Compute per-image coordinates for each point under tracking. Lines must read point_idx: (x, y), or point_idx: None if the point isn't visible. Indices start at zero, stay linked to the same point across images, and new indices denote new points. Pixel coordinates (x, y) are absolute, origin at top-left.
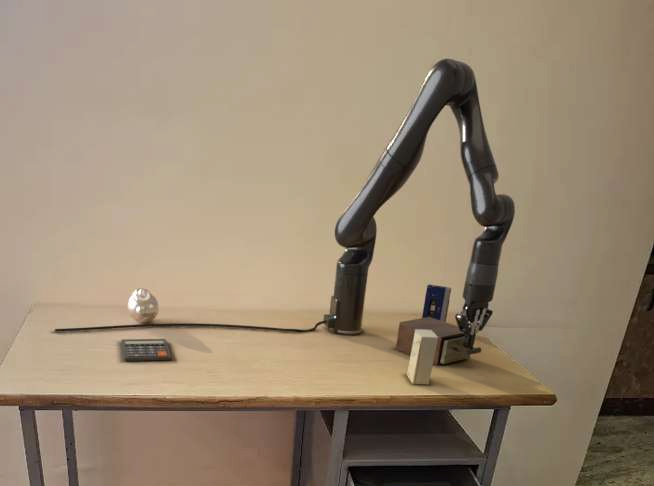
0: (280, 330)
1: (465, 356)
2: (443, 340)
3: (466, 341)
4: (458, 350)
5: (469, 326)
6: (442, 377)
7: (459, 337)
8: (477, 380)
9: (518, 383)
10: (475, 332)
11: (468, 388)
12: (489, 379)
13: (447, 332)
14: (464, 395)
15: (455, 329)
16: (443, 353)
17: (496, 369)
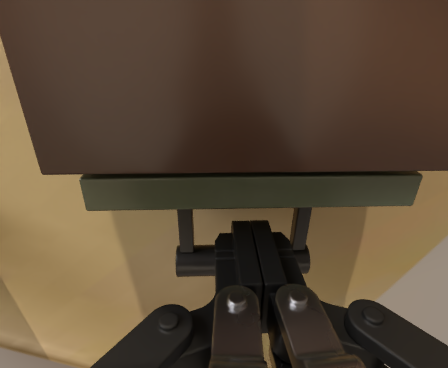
0: None
1: None
2: None
3: (215, 275)
4: (178, 220)
5: (285, 337)
6: (37, 225)
7: (268, 183)
8: (156, 294)
9: None
10: (272, 353)
11: (66, 322)
12: (206, 303)
13: (216, 95)
14: (10, 347)
15: (395, 58)
16: None
17: (327, 257)
